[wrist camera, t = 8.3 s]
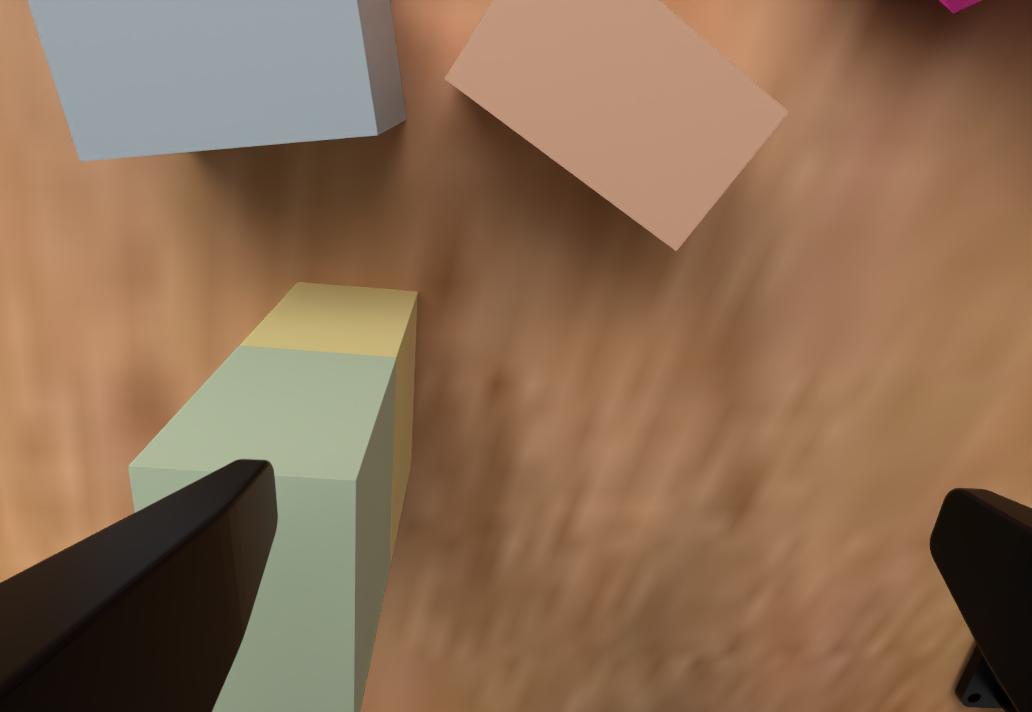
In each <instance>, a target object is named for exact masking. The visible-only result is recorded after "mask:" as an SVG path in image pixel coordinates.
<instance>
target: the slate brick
mask: <svg viewBox="0 0 1032 712" xmlns="http://www.w3.org/2000/svg"><path fill="white" fill-rule="evenodd" d="M28 3H29V6H30V9H31V12H32V15H33V18H34V22H35V25H36V28H37V31H38V34H39V37H40V40H41V43H42V46H43V49H44V52H45V55H46V58H47V62H48V65H49V68H50V71H51V74H52V77H53V80H54V83H55V86H56V89H57V92H58V95H59V99H60V102H61V105H62V108H63V111H64V114H65V117H66V120H67V123H68V126H69V129H70V132H71V135H72V139H73V142H74V145H75V148H76V151H77V154H78V157H79V160H80V161H92V160H103V159H114V158H126V157H137V156H148V155H160V154H171V153H182V152H194V151H205V150H217V149H228V148H239V147H251V146H262V145H273V144H285V143H296V142H307V141H319V140H330V139H342V138H353V137H364V136H376V135H379V134H381V133H383V132H385V131H387V130H388V129H390V128H392V127H394V126H396V125H398V124H399V123H401V122H403V121H405V120H407V119H406V112H405V105H404V98H403V90H402V83H401V76H400V68H399V61H398V54H397V47H396V39H395V32H394V25H393V17H392V10H391V3H390V0H28Z"/></svg>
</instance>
